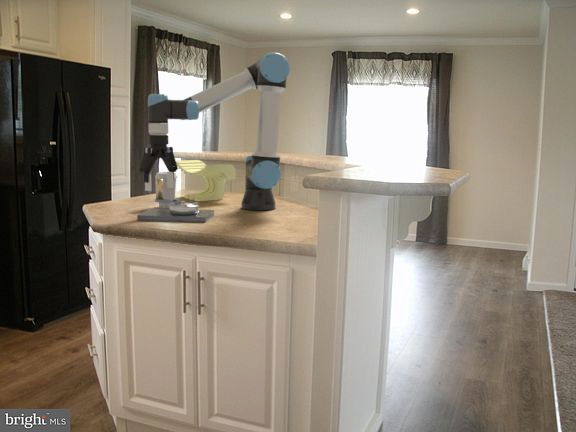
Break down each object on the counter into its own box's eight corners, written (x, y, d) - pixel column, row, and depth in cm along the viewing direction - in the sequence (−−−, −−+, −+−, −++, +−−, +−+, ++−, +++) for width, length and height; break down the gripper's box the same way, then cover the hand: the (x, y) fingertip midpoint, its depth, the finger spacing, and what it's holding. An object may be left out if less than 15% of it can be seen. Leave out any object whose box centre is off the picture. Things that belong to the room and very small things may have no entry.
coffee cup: (172, 209, 234) (171, 174, 232) (151, 208, 236) (150, 173, 233) (181, 206, 243) (180, 172, 241) (161, 205, 245) (160, 171, 243)
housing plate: (213, 214, 222) (213, 209, 221) (205, 222, 205) (205, 216, 205) (150, 213, 223) (150, 208, 223) (137, 220, 206) (137, 214, 206)
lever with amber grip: (204, 212, 215) (204, 181, 213) (185, 215, 206) (185, 183, 204) (166, 207, 225) (166, 177, 223) (147, 210, 215) (146, 180, 213)
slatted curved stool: (235, 201, 262) (235, 163, 259) (206, 203, 252) (206, 164, 249) (203, 194, 285) (203, 159, 282) (176, 196, 275) (175, 160, 272)
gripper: (172, 133, 226) (172, 185, 230) (128, 134, 206) (130, 191, 209) (186, 134, 223) (186, 187, 226) (143, 135, 202) (144, 193, 206)
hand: (159, 189), depth 218 cm, fingers open, 12 cm apart
